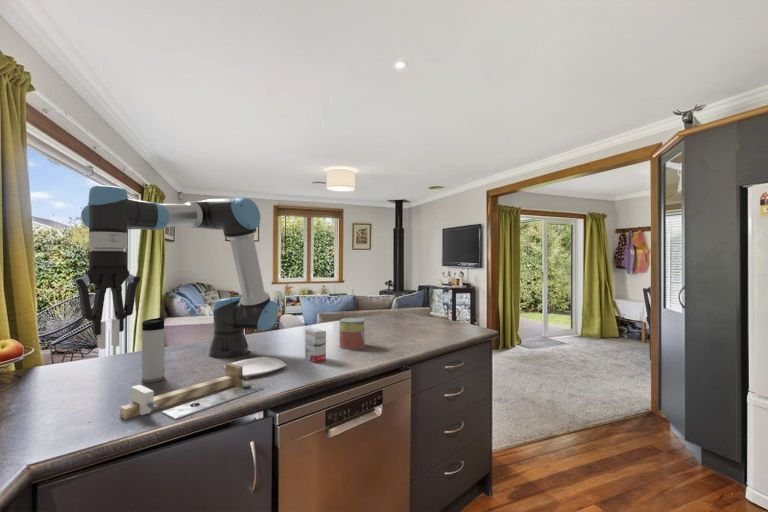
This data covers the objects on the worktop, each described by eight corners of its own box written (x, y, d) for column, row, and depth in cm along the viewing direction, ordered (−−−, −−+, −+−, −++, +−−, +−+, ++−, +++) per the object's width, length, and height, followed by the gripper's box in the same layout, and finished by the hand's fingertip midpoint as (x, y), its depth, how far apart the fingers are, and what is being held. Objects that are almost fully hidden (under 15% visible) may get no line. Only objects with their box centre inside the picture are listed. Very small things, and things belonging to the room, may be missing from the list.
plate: (293, 370, 131) (293, 364, 131) (241, 383, 117) (241, 377, 117) (266, 359, 145) (266, 354, 145) (216, 371, 130) (216, 365, 130)
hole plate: (162, 412, 94) (162, 411, 94) (249, 384, 116) (249, 382, 116) (175, 419, 90) (175, 417, 90) (263, 388, 112) (263, 387, 112)
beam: (136, 426, 87) (136, 401, 87) (118, 415, 93) (118, 391, 93) (252, 386, 113) (252, 367, 113) (233, 380, 119) (233, 362, 119)
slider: (151, 420, 89) (151, 396, 89) (130, 409, 96) (130, 386, 96) (160, 417, 91) (160, 394, 91) (139, 406, 98) (139, 384, 98)
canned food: (363, 349, 158) (363, 322, 158) (337, 349, 159) (337, 322, 159) (365, 343, 170) (365, 317, 170) (341, 343, 170) (341, 317, 170)
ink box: (326, 360, 142) (326, 330, 142) (315, 363, 138) (315, 332, 138) (315, 356, 148) (315, 327, 148) (304, 358, 145) (304, 328, 145)
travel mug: (169, 377, 122) (169, 317, 122) (151, 383, 116) (151, 320, 116) (156, 375, 124) (156, 316, 125) (137, 381, 118) (137, 319, 118)
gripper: (74, 249, 81) (74, 356, 81) (149, 250, 93) (149, 342, 93) (63, 250, 85) (63, 351, 85) (137, 250, 98) (137, 338, 98)
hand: (108, 346), depth 89 cm, fingers open, 2 cm apart
